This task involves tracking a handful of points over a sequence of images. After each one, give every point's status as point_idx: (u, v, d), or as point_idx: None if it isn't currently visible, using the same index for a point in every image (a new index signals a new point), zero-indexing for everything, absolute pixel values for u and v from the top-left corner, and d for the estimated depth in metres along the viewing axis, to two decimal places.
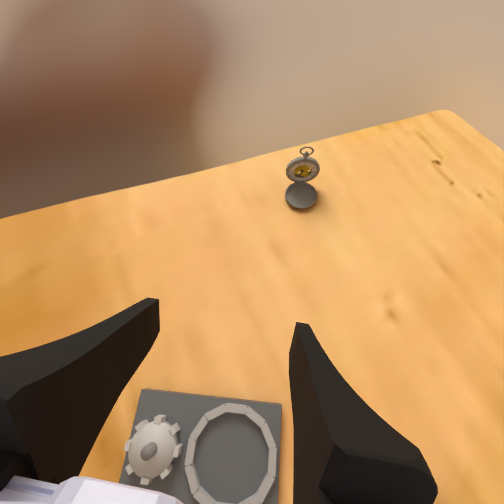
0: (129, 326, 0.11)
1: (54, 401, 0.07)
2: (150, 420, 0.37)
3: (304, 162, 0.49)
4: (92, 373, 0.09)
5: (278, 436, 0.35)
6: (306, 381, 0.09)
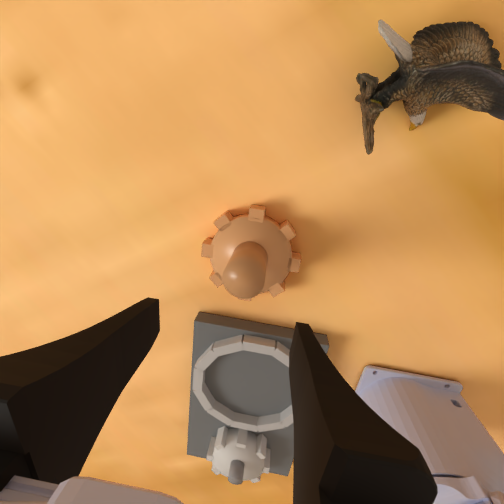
0: (129, 326, 0.11)
1: (54, 401, 0.07)
2: None
3: None
4: (92, 373, 0.09)
5: (232, 330, 0.24)
6: (306, 381, 0.09)
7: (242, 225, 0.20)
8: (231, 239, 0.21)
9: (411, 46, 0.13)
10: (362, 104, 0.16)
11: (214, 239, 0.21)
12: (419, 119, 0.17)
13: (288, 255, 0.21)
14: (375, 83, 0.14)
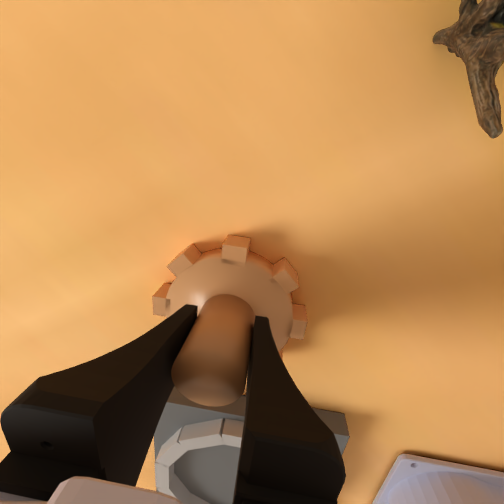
0: (176, 334, 0.10)
1: (123, 414, 0.07)
2: None
3: None
4: (149, 384, 0.09)
5: (208, 412, 0.17)
6: (251, 371, 0.09)
7: (212, 271, 0.13)
8: (197, 290, 0.13)
9: None
10: (462, 40, 0.08)
11: (170, 290, 0.13)
12: None
13: (287, 315, 0.13)
14: None
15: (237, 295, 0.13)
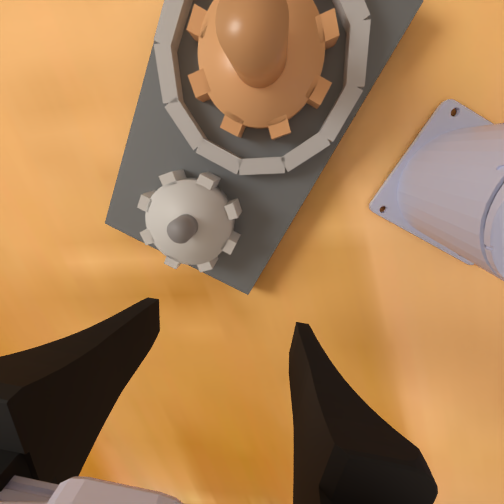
0: (129, 326, 0.11)
1: (54, 401, 0.07)
2: None
3: None
4: (92, 373, 0.09)
5: None
6: (306, 381, 0.09)
7: None
8: None
9: None
10: None
11: (215, 1, 0.13)
12: None
13: (316, 68, 0.14)
14: None
15: None
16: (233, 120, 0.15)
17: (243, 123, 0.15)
